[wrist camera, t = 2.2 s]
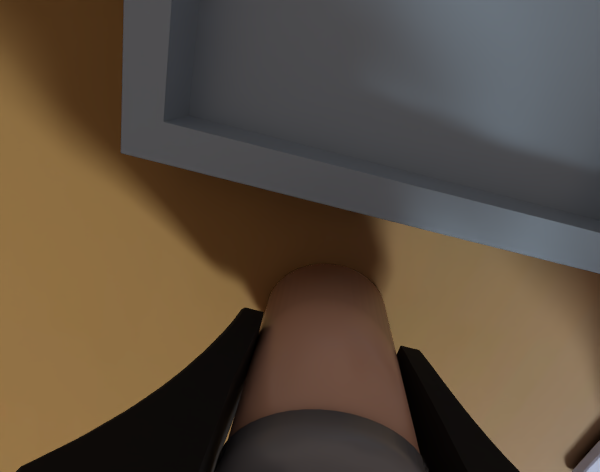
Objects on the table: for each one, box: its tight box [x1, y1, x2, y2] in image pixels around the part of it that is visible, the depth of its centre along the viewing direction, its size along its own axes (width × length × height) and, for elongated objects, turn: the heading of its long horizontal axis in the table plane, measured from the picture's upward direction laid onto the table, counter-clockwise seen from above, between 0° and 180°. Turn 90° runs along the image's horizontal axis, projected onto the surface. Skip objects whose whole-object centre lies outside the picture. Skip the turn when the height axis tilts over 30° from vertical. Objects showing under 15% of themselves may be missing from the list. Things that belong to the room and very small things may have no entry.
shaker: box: [214, 264, 429, 472], centre depth 10 cm, size 5×5×7 cm
